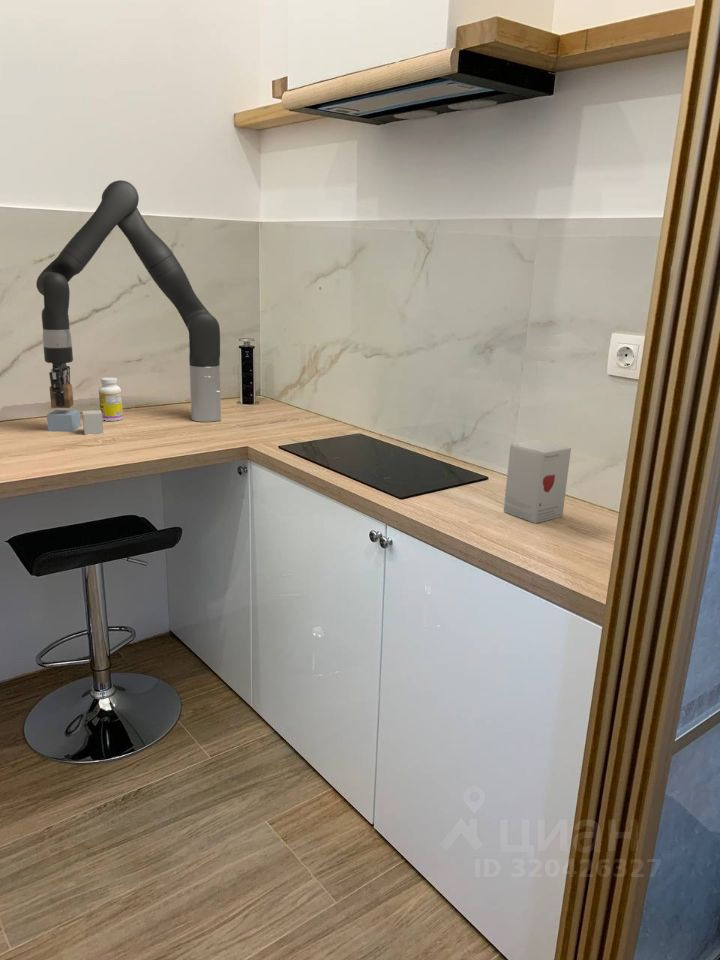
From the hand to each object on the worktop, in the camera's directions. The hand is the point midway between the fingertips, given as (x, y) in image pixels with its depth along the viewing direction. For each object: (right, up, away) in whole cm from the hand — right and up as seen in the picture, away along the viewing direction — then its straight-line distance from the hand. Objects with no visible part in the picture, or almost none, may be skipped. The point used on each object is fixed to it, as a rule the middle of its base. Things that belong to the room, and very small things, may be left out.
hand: (62, 404), depth 210 cm
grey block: (+9, -8, -1) cm, 13 cm away
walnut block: (0, -1, 0) cm, 1 cm away
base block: (0, -7, +2) cm, 7 cm away
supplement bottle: (+9, -3, +16) cm, 19 cm away
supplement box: (+123, -29, -58) cm, 139 cm away
